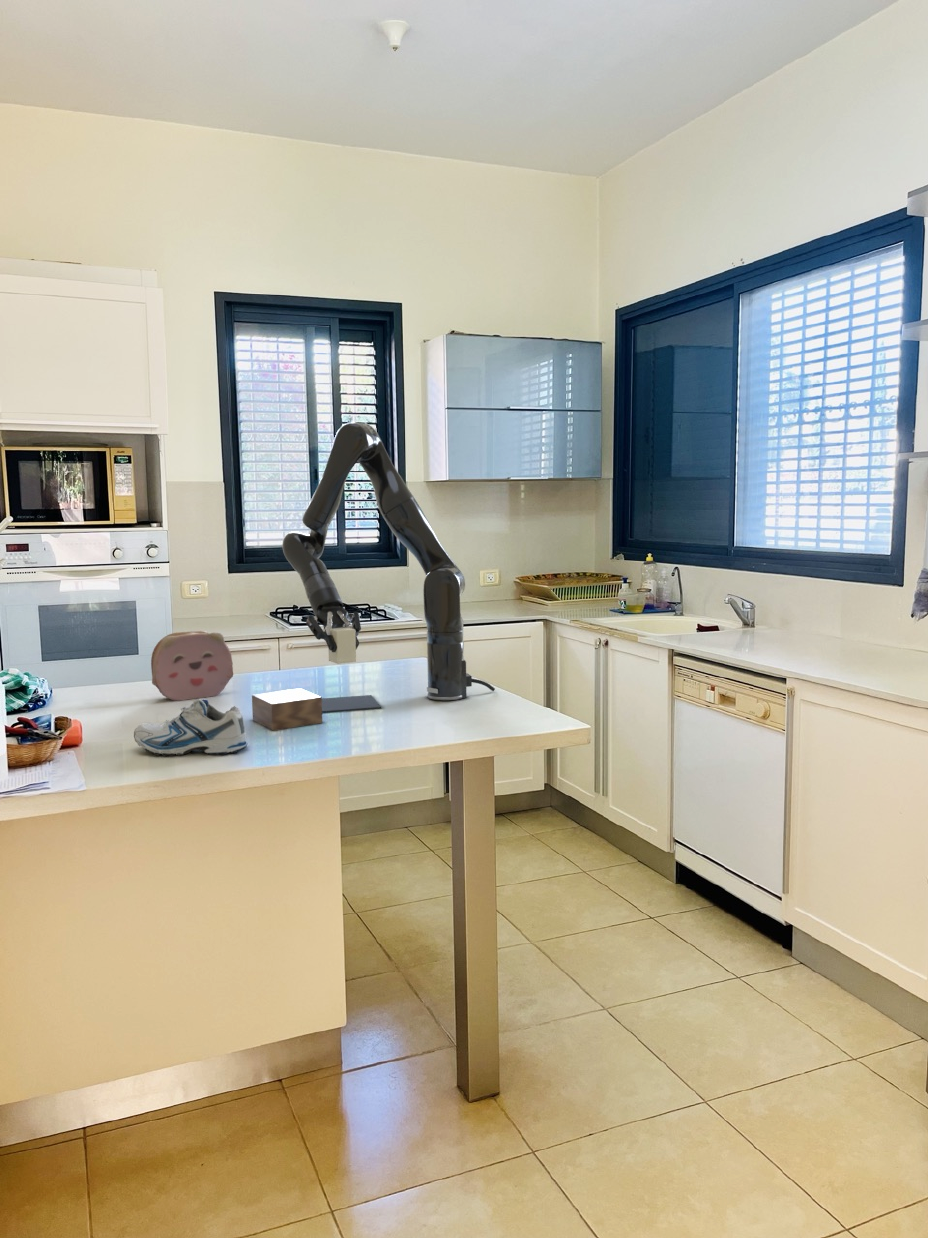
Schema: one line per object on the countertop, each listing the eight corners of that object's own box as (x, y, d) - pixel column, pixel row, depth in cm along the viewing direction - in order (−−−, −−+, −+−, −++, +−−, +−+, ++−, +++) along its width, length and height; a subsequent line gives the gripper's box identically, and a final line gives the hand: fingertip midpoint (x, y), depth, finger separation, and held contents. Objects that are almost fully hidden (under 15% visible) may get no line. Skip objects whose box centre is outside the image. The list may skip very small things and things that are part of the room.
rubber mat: (371, 696, 239) (371, 695, 239) (381, 708, 226) (381, 706, 226) (308, 701, 235) (308, 699, 235) (314, 713, 221) (314, 711, 221)
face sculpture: (156, 703, 234) (152, 638, 231) (150, 698, 239) (146, 634, 237) (235, 694, 244) (232, 631, 241) (227, 689, 250) (224, 628, 247)
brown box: (300, 712, 222) (300, 688, 221) (322, 722, 212) (321, 697, 211) (252, 720, 215) (251, 694, 215) (272, 730, 205) (271, 704, 205)
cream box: (346, 658, 232) (346, 627, 231) (356, 661, 228) (355, 629, 227) (328, 661, 229) (327, 628, 228) (337, 664, 225) (336, 631, 224)
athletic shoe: (140, 742, 195) (134, 691, 191) (252, 740, 197) (248, 689, 193) (128, 767, 186) (121, 714, 182) (245, 765, 188) (241, 712, 184)
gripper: (300, 587, 228) (323, 642, 220) (353, 584, 236) (376, 637, 228) (292, 607, 234) (314, 661, 225) (344, 602, 241) (367, 655, 233)
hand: (345, 648), depth 227 cm, fingers closed on cream box, 5 cm apart
